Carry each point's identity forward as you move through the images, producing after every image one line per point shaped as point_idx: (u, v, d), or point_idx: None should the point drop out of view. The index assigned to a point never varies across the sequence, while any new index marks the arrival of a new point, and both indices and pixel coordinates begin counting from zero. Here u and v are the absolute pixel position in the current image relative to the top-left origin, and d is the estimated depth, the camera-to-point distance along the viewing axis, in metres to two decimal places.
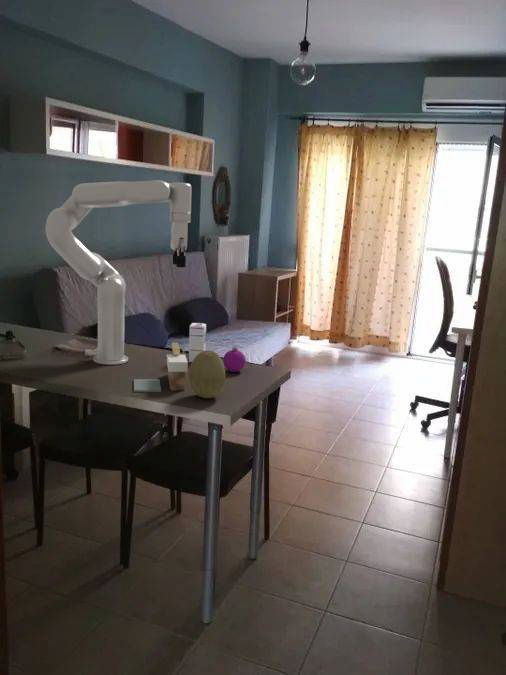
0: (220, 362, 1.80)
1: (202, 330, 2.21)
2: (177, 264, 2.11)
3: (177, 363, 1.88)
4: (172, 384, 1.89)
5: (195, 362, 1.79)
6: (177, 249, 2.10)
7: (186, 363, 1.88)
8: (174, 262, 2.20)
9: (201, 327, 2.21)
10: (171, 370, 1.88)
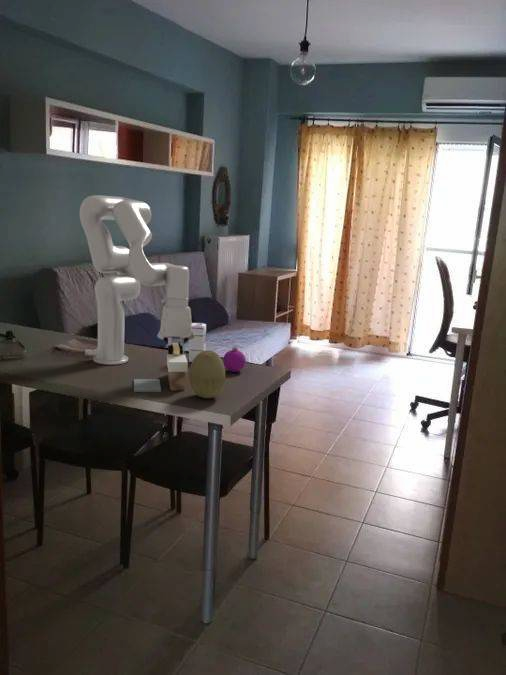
0: (220, 362, 1.80)
1: (202, 330, 2.21)
2: (180, 354, 2.01)
3: (177, 363, 1.88)
4: (172, 384, 1.89)
5: (195, 362, 1.79)
6: (183, 338, 1.99)
7: (186, 363, 1.88)
8: None
9: (201, 327, 2.21)
10: (171, 370, 1.88)
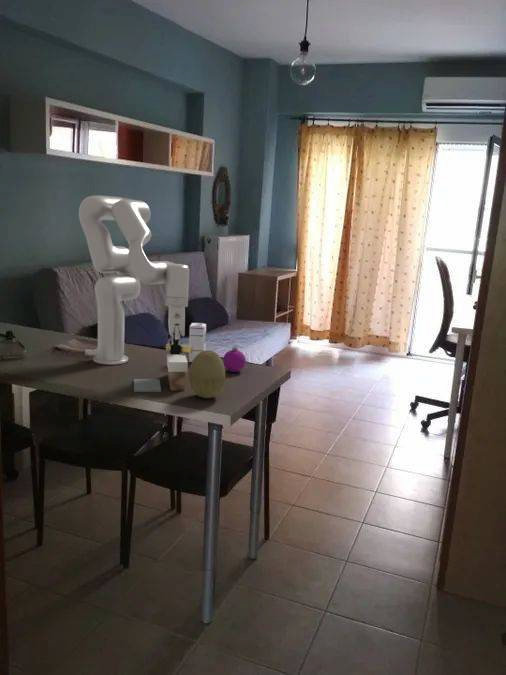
0: (220, 362, 1.80)
1: (202, 330, 2.21)
2: None
3: (177, 363, 1.88)
4: (172, 384, 1.89)
5: (195, 362, 1.79)
6: None
7: (186, 363, 1.88)
8: None
9: (201, 327, 2.21)
10: (171, 370, 1.88)
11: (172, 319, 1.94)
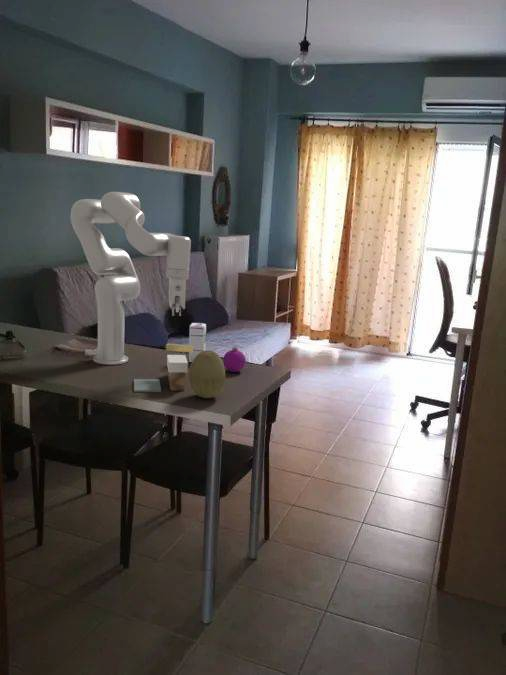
0: (220, 362, 1.80)
1: (202, 330, 2.21)
2: None
3: (177, 364, 1.87)
4: (172, 384, 1.89)
5: (195, 362, 1.79)
6: None
7: (186, 363, 1.88)
8: None
9: (201, 327, 2.21)
10: (171, 370, 1.88)
11: (173, 291, 1.92)
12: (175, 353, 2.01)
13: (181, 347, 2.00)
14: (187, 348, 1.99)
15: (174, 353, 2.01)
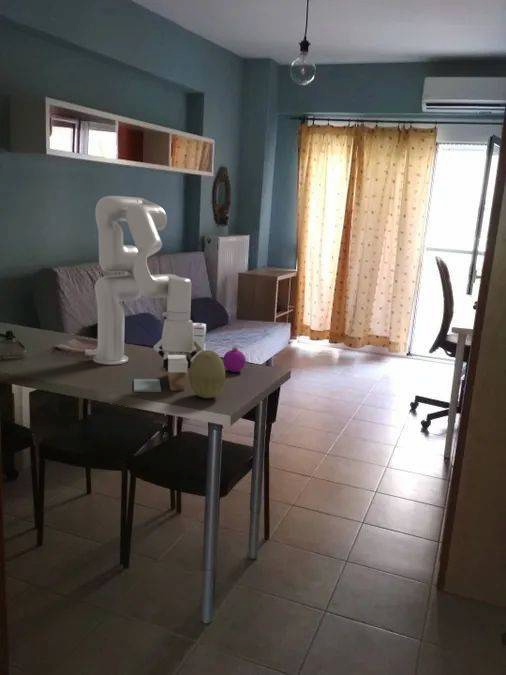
0: (220, 362, 1.80)
1: (202, 330, 2.21)
2: (188, 368, 1.93)
3: (177, 364, 1.87)
4: (172, 384, 1.89)
5: (195, 362, 1.79)
6: (189, 352, 1.92)
7: (186, 363, 1.88)
8: (167, 369, 1.92)
9: (201, 327, 2.21)
10: (171, 370, 1.88)
11: None
12: (175, 353, 2.01)
13: None
14: None
15: (174, 353, 2.01)
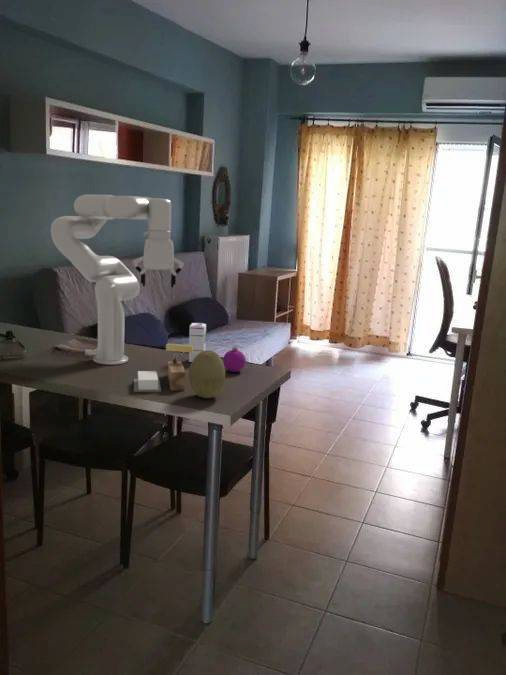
0: (220, 362, 1.80)
1: (202, 330, 2.21)
2: (173, 284, 2.03)
3: (147, 381, 1.86)
4: (172, 384, 1.89)
5: (195, 362, 1.79)
6: (172, 269, 2.02)
7: (156, 381, 1.86)
8: (144, 284, 2.01)
9: (201, 327, 2.21)
10: (141, 388, 1.86)
11: None
12: (175, 353, 2.01)
13: (181, 347, 2.00)
14: (187, 348, 1.99)
15: (174, 353, 2.01)
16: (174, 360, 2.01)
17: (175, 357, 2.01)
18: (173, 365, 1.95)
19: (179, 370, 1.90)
